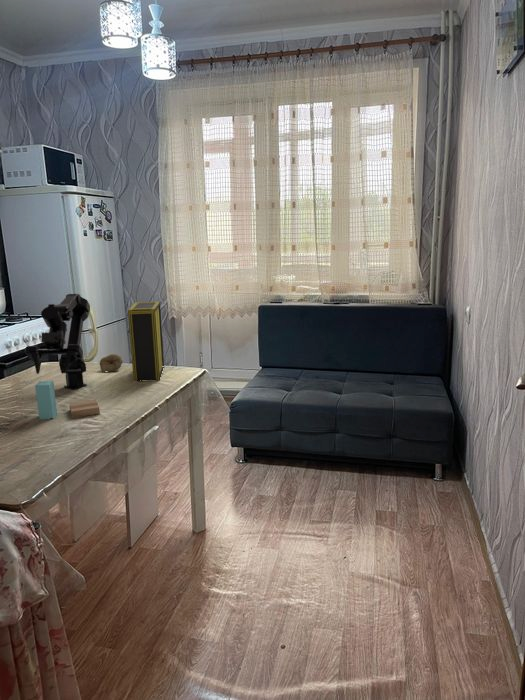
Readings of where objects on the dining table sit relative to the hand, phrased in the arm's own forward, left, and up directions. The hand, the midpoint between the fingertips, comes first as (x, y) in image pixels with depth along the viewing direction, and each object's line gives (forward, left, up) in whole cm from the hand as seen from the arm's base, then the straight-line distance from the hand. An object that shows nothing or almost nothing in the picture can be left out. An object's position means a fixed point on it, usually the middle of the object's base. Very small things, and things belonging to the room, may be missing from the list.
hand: (50, 372), depth 184 cm
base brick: (-12, -3, -13) cm, 18 cm away
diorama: (0, -49, -14) cm, 50 cm away
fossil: (+20, -46, -14) cm, 52 cm away
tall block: (-4, +6, -13) cm, 15 cm away
